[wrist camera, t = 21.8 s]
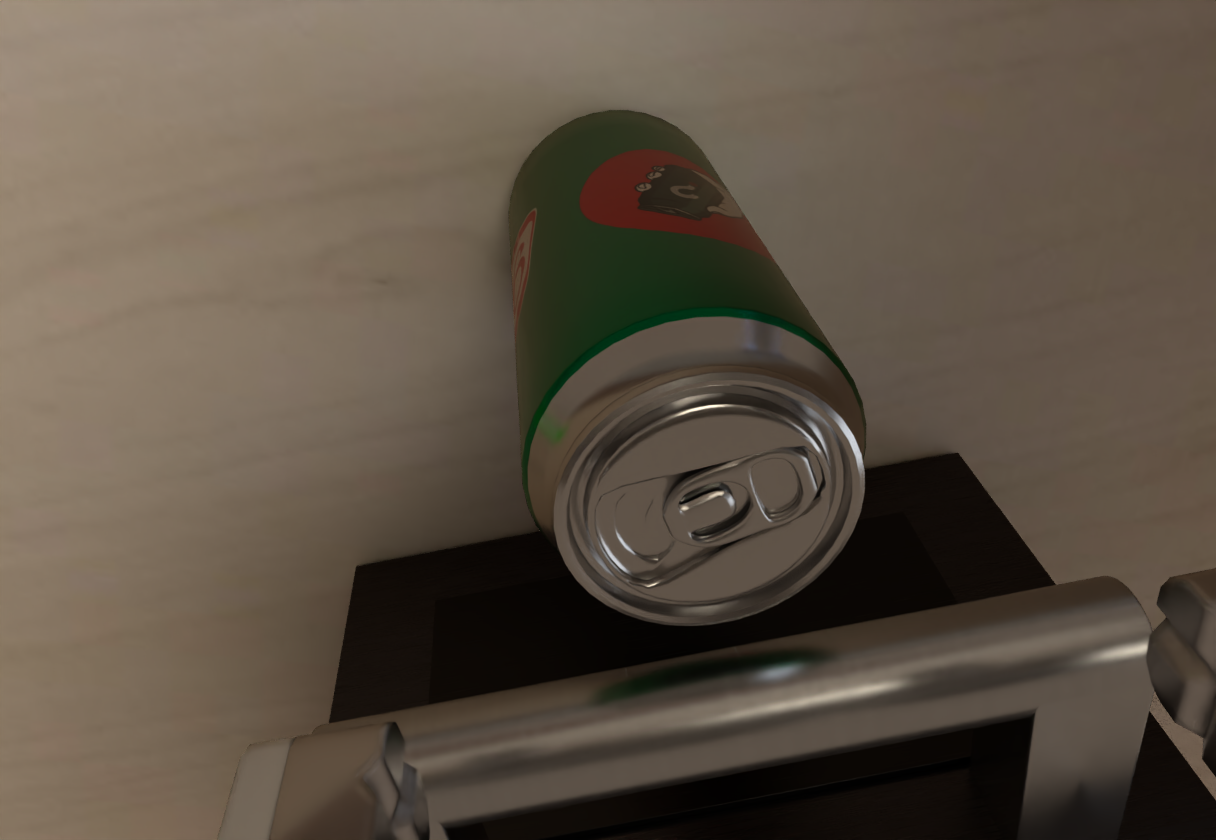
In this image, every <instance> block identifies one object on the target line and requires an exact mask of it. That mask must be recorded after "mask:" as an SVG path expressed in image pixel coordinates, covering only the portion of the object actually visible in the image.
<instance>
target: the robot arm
mask: <svg viewBox="0 0 1216 840" xmlns="http://www.w3.org/2000/svg"><path fill="white" fill-rule="evenodd" d="M1156 605H1157V606H1158V607H1159V608H1160V609H1161V611H1162V612H1163V613H1164V614H1165V616H1166V617H1167V618H1166V619H1165V620H1164V621H1163V622H1162V623H1161V624H1160V625H1159V626H1158V627H1157V628H1156V629H1155V630H1154V631H1153V632H1152V633H1151V634H1150V635H1149V641H1148V647H1147V653H1146V662H1147V666H1148V671H1149V676H1150V680H1151V684H1152V686H1153V688H1154V690H1155V692H1156V694H1157V696H1158V698H1159V700H1160V702H1161V704H1162V705H1163V706H1164V708H1165V709H1166V711H1167V712H1168V713H1169V715H1170V716H1171V718H1172V719H1173V720H1174V722H1175V723H1177V724H1178V725H1180V726H1182V727H1184V728H1186V729H1188V730H1190V731H1191V732H1193V733H1195V734H1197V735H1199V736H1201V737H1203V754H1202V759H1203V761H1204V762H1205V763H1206V765H1207V766H1208V767H1209V769H1210V770H1211V771H1212V773H1213V774H1214V775H1215V777H1216V568H1214V569H1209V570H1204V571H1199V572H1193V573H1188V574H1183V575H1178V576H1173V577H1170V578H1169V579H1168V580H1167V581H1166V582H1165V583H1164V584H1163V585H1162V586H1161V588H1160V592H1159V596H1158V600H1157V604H1156ZM405 743H406V742H405V740H404V738H403V735H402V733H401V731H400V729H399V727H398V725H397V723H396V722H383V723H376V724H370V725H364V726H357V727H351V728H344V729H338V730H332V731H325V732H319V733H312V734H306V735H300V736H296V737H290V738H284V739H278V740H272V741H266V742H260V743H254V744H249V746H248V747H247V749H246V750H245V752H244V753H243V755H242V756H241V758H240V759H239V762H238V766H237V769H236V773H235V777H234V780H233V784H232V787H231V791H230V794H229V798H228V802H227V805H226V809H225V812H224V816H223V820H222V823H221V827H220V830H219V834H218V837H217V840H430V827H429V814H428V803H427V799H426V795H425V790H424V786H423V783H422V780H421V778H420V775H419V773H418V770H417V769H416V768H414V767H413V766H411V765H409V764H407V763H405V762H404V754H405Z"/></svg>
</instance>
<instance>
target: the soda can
mask: <svg viewBox="0 0 1216 840" xmlns="http://www.w3.org/2000/svg"><path fill="white" fill-rule="evenodd" d="M509 237H510V256H511V275H512V294H513V314H514V333H515V352H516V371H517V390H518V409H519V428H520V448H521V467H522V484H523V489H524V493H525V497H526V501H527V506H528V508H529V510H530V513H531V515H532V517H533V519H534V522H535V524H536V526H537V528H538V529H539V530H540V532H541V533H542V535H543V536H544V538H545V539H546V540H547V542H548V543H549V545H550V546H551V547H552V548H553V549H554V550H555V551H556V552H557V553H558V554H559V555H560V556H561V557H562V559H563V561H564V563H565V564H566V566H567V567H568V569H569V570H570V571H571V573H572V574H573V576H574V577H575V579H576V580H577V581H578V582H579V583H580V584H581V585H582V586H583V587H584V588H585V589H586V590H587V591H588V592H589V593H590V594H591V595H592V596H594V597H595V598H597V599H598V600H600V601H601V602H602V603H604V604H605V605H607V606H609V607H611V608H613V609H615V610H617V611H619V612H621V613H623V614H625V615H628V616H631V617H634V618H637V619H640V620H644V621H648V622H653V623H659V624H664V625H677V626H698V625H712V624H718V623H723V622H729V621H734V620H737V619H741V618H744V617H747V616H751V615H754V614H757V613H759V612H761V611H764V610H766V609H768V608H771V607H773V606H775V605H777V604H779V603H781V602H783V601H784V600H786V599H788V598H790V597H791V596H793V595H795V594H796V593H798V592H799V591H801V590H802V589H803V588H805V587H806V586H807V585H809V584H810V583H811V582H813V581H814V580H815V579H816V578H817V577H818V576H819V575H820V574H821V573H822V572H823V571H824V570H826V569H827V568H828V567H829V566H830V564H831V563H832V562H833V561H834V559H835V558H836V557H837V556H838V554H839V553H840V552H841V551H842V549H843V548H844V546H845V544H846V543H847V541H848V539H849V538H850V536H851V534H852V533H853V531H854V528H855V525H856V523H857V520H858V518H859V515H860V513H861V508H862V503H863V498H864V493H865V469H864V463H863V460H864V454H865V449H866V420H865V414H864V409H863V403H862V400H861V398H860V395H859V393H858V390H857V387H856V385H855V382H854V380H853V378H852V377H851V375H850V374H849V372H848V371H847V369H846V368H845V366H844V365H843V363H842V361H841V360H840V358H839V357H838V355H837V354H836V352H835V351H834V349H833V348H832V346H831V345H830V343H829V342H828V340H827V339H826V337H825V336H824V334H823V333H822V331H821V330H820V328H819V327H818V325H817V324H816V322H815V321H814V319H813V318H812V316H811V315H810V313H809V312H808V310H807V309H806V307H805V306H804V304H803V303H802V301H801V300H800V298H799V297H798V295H797V293H796V292H795V290H794V289H793V287H792V286H791V284H790V283H789V281H788V280H787V278H786V277H785V275H784V274H783V272H782V271H781V269H780V268H779V266H778V265H777V263H776V262H775V260H774V259H773V257H772V256H771V254H770V253H769V251H768V250H767V248H766V247H765V245H764V244H763V242H762V241H761V239H760V238H759V236H758V235H757V233H756V232H755V230H754V229H753V227H752V226H751V224H750V223H749V221H748V220H747V218H746V217H745V215H744V214H743V212H742V211H741V209H740V207H739V206H738V204H737V203H736V201H735V200H734V198H733V197H732V195H731V194H730V192H729V191H728V189H727V188H726V186H725V185H724V183H723V182H722V180H721V179H720V177H719V176H718V174H717V173H716V171H715V170H714V168H713V167H712V165H711V164H710V162H709V161H708V159H707V158H706V156H705V155H704V153H703V152H702V150H701V149H700V148H699V147H698V145H697V144H696V143H695V142H694V141H693V140H692V139H691V138H690V137H689V136H688V135H687V134H685V133H684V132H683V131H681V130H680V129H679V128H678V127H676V126H674V125H672V124H671V123H669V122H667V121H665V120H663V119H661V118H658V117H655V116H652V115H649V114H646V113H642V112H635V111H629V110H609V111H603V112H597V113H592V114H589V115H586V116H583V117H580V118H577V119H574V120H572V121H570V122H569V123H567V124H565V125H563V126H561V127H559V128H558V129H556V130H555V131H554V132H552V133H551V134H550V135H548V136H547V137H546V138H545V139H544V140H543V141H542V142H541V143H540V144H539V145H538V146H537V147H536V148H535V149H534V150H533V151H532V153H531V154H530V155H529V157H528V158H527V160H526V161H525V163H524V164H523V166H522V168H521V170H520V172H519V174H518V176H517V178H516V180H515V183H514V187H513V190H512V193H511V197H510V205H509Z"/></svg>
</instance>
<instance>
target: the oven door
mask: <svg viewBox="0 0 1216 840" xmlns="http://www.w3.org/2000/svg"><path fill="white" fill-rule="evenodd" d="M1152 632H1153V630H1152V627H1151V625H1150V622H1149V620H1148V618H1147V615H1146V613H1145V611H1144V610H1143V608H1142V606H1141V604H1140V603H1139V601H1138V600H1137V598H1136V597H1135V595H1134V594H1133V593H1132V592H1131V591H1130V589H1129V588H1128V587H1127V586H1126V585H1124V584H1123V583H1122V582H1121V581H1119V580H1118V579H1116V578H1113V577H1110V576H1100V577H1095V578H1090V579H1085V580H1079V581H1074V582H1069V583H1064V584H1058V585H1056V584H1055V583H1054V581H1053V580H1052V579H1051V577H1050V576H1049V575H1048V573H1047V572H1046V571H1045V569H1044V568H1043V567H1042V565H1041V564H1040V563H1039V561H1038V560H1037V559H1036V557H1035V556H1034V554H1033V553H1032V552H1031V550H1030V549H1029V548H1028V546H1027V545H1026V544H1025V542H1024V541H1023V540H1022V538H1021V537H1020V536H1019V534H1018V533H1017V532H1016V530H1015V529H1014V527H1013V526H1012V525H1011V523H1010V522H1009V521H1008V519H1007V518H1006V517H1005V515H1004V514H1003V513H1002V511H1001V510H1000V509H999V507H998V506H997V505H996V503H995V502H994V500H993V499H992V498H991V496H990V495H989V494H988V492H987V491H986V490H985V488H984V487H983V486H982V484H981V483H980V482H979V480H978V479H977V478H976V476H975V475H974V474H973V472H972V471H971V469H970V468H969V467H968V465H967V464H966V463H965V461H964V460H963V459H962V457H961V456H960V455H959V453H953V454H947V455H942V456H937V457H931V458H926V459H921V460H916V461H910V462H905V463H900V464H894V465H889V466H884V467H879V468H873V469H868V470H865V493H864V498H863V503H862V508H861V513H860V515H859V518H858V520H857V523H856V525H855V528H854V531H853V533H852V534H851V536H850V538H849V539H848V541H847V543H846V544H845V546H844V548H843V549H842V551H841V552H840V553H839V554H838V556H837V557H836V558H835V559H834V561H833V562H832V563H831V564H830V566H829V567H828V568H827V569H826V570H824V571H823V572H822V573H821V574H820V575H819V576H818V577H817V578H816V579H815V580H814V581H813V582H811V583H810V584H809V585H807V586H806V587H805V588H803V589H802V590H801V591H799V592H798V593H796V594H795V595H793V596H791V597H790V598H788V599H786V600H784V601H783V602H781V603H779V604H777V605H775V606H773V607H771V608H768V609H766V610H764V611H761V612H759V613H757V614H754V615H751V616H747V617H744V618H741V619H737V620H734V621H729V622H723V623H718V624H712V625H698V626H677V625H664V624H659V623H653V622H648V621H644V620H640V619H637V618H634V617H631V616H628V615H625V614H623V613H621V612H619V611H617V610H615V609H613V608H611V607H609V606H607V605H605V604H604V603H602V602H601V601H600V600H598V599H597V598H595V597H594V596H592V595H591V594H590V593H589V592H588V591H587V590H586V589H585V588H584V587H583V586H582V585H581V584H580V583H579V582H578V581H577V580H576V579H575V577H574V576H573V574H572V573H571V571H570V570H569V569H568V567H567V566H566V564H565V563H564V561H563V559H562V557H561V556H560V555H559V554H558V553H557V552H556V551H555V550H554V549H553V548H552V547H551V546H550V545H549V543H548V542H547V540H546V539H545V538H544V536H543V535H542V533H541V532H535V533H530V534H525V535H519V536H514V537H509V538H504V539H498V540H493V541H488V542H482V543H477V544H472V545H467V546H461V547H456V548H451V549H445V550H440V551H435V552H430V553H424V554H419V555H414V556H409V557H403V558H398V559H393V560H387V561H382V562H377V563H372V564H366V565H361V566H357V567H356V571H355V576H354V582H353V588H352V593H351V599H350V605H349V611H348V616H347V622H346V628H345V633H344V639H343V645H342V651H341V656H340V662H339V668H338V673H337V679H336V685H335V691H334V696H333V702H332V708H331V713H330V719H329V724H324V725H320V726H318V727H316V728H315V729H314V730H313V732H312V733H319V732H325V731H332V730H338V729H344V728H351V727H357V726H364V725H370V724H376V723H383V722H396V723H397V725H398V727H399V729H400V731H401V733H402V735H403V738H404V740H405V742H406V743H405V754H404V762H405V763H407V764H409V765H411V766H413V767H414V768H416V769H417V770H418V773H419V775H420V778H421V780H422V783H423V786H424V790H425V795H426V799H427V803H428V814H429V827H430V840H1216V800H1215V799H1214V797H1213V796H1212V795H1211V793H1210V792H1209V791H1208V789H1207V788H1206V787H1205V785H1204V784H1203V783H1202V781H1201V780H1200V779H1199V777H1198V776H1197V774H1196V773H1195V772H1194V770H1193V769H1192V768H1191V766H1190V765H1189V764H1188V762H1187V761H1186V760H1185V758H1184V757H1183V756H1182V754H1181V753H1180V752H1179V750H1178V749H1177V747H1176V746H1175V745H1174V743H1173V742H1172V741H1171V739H1170V738H1169V737H1168V735H1167V734H1166V733H1165V731H1164V730H1163V729H1162V727H1161V726H1160V725H1159V723H1158V722H1157V720H1156V719H1155V718H1154V716H1153V715H1152V714H1151V712H1150V711H1149V710H1150V706H1151V702H1152V698H1153V694H1154V688H1153V686H1152V684H1151V680H1150V676H1149V671H1148V666H1147V662H1146V653H1147V647H1148V641H1149V635H1150V634H1151V633H1152Z"/></svg>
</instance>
